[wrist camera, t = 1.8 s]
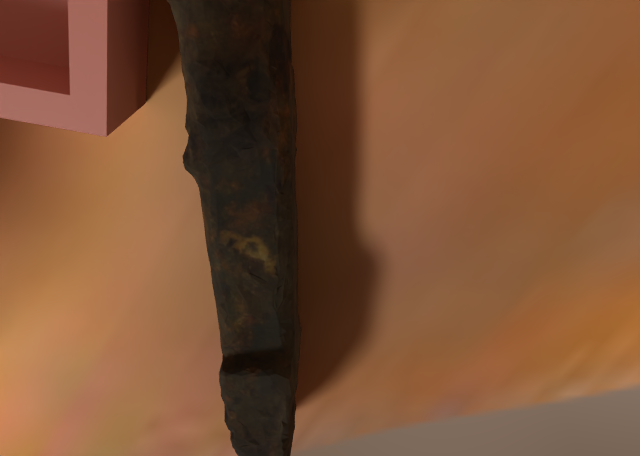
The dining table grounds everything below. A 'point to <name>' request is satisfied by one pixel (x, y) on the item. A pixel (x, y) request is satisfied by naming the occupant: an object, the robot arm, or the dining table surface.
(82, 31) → the pink tray
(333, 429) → the dining table surface
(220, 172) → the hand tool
